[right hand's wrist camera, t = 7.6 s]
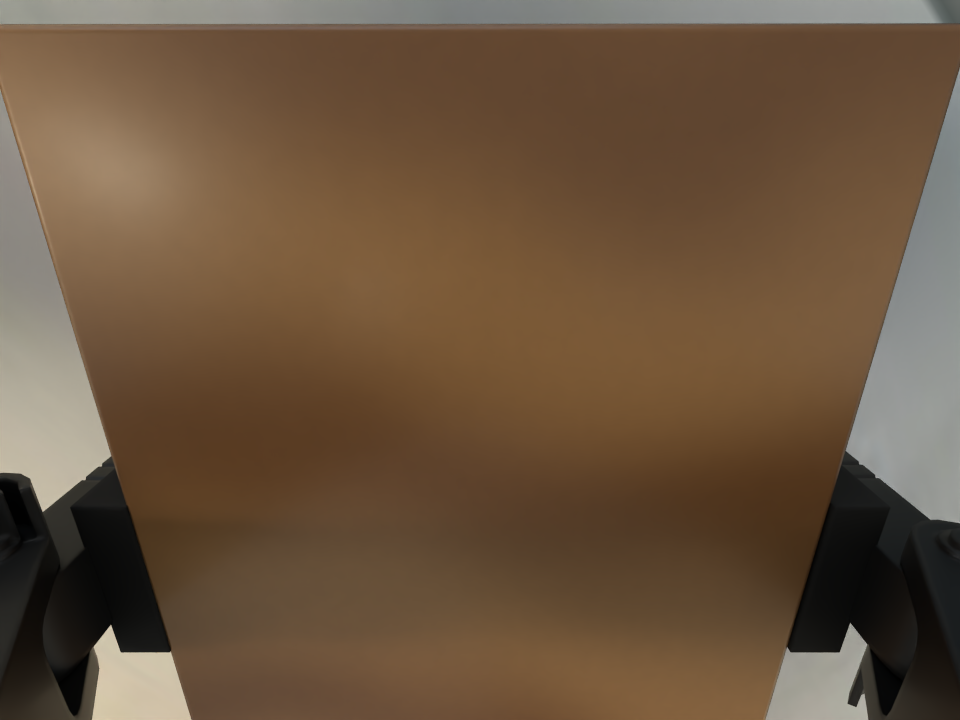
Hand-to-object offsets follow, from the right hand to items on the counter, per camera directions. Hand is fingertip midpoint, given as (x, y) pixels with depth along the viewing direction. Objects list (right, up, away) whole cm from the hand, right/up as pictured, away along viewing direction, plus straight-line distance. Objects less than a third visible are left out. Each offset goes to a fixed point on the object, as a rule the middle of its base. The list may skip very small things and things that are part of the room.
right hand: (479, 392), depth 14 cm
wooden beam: (0, -30, +12) cm, 32 cm away
